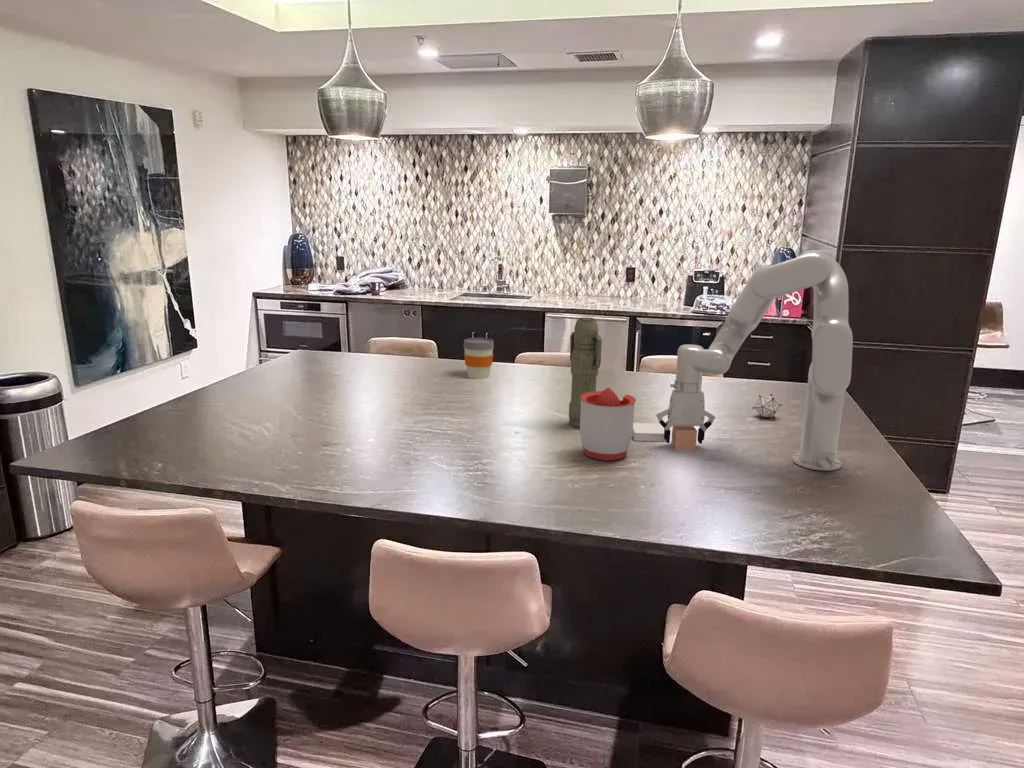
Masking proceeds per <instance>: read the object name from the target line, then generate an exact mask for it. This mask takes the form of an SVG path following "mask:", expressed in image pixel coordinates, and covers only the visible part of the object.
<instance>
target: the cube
mask: <svg viewBox="0 0 1024 768" xmlns="http://www.w3.org/2000/svg"><path fill="white" fill-rule="evenodd" d="M697 438H698V429H696V426H678V425H673V426H672V427H671V439H670V443H671V445H672V446H673V447H672V448H673V449H674V451H675V450H677V451H679V450H680V451H681V450H683V451H696V450H697Z"/></svg>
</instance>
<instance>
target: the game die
mask: <svg viewBox="0 0 1024 768" xmlns="http://www.w3.org/2000/svg"><path fill="white" fill-rule="evenodd" d="M758 397H759V398H758V399H757V402H756V404H754V406H752V407H751V409H754V410H755V411H756V412H757V413H758V414H759V416H761V420H763V419H764V418H771V417H772V418H773V419H776V417H775V415H776V413H777V411H778V409H779V408H780V407H781V406H783V404H779V402H777V401H776V399H775V397H773V394H772V393H771V394H770V395H765V396H761V394H758Z"/></svg>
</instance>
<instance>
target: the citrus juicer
mask: <svg viewBox="0 0 1024 768" xmlns="http://www.w3.org/2000/svg"><path fill="white" fill-rule="evenodd" d="M580 399H581V414H580V429H579V433H580V441H581V444H582V448H583V451H584V453H585V455H586V456H587V457H589V458H592V459H595V460H601V461H609V462H612V461H613V462H614V461H616V460H619V459H622V458H623V459H624V457H625V456H626V454H627V453H628V451H629V447H630V444H631V442H632V441H631V440H632V438H633V436H632V432H633V423H634V422H635V421H634V419H635V417H634V416H635V406H636V405H635V404H636V402H637V399H636V398H635V397H634V396H633V395H631V394H625V395H624V396H623V397H622V400H620V399H619V397H618V395H617V393H615V392H614V390H613V389H612V388H611V387H607V388H604V390H596V391H594V392H588V393H585V394H583V395H581V397H580Z"/></svg>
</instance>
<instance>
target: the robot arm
mask: <svg viewBox="0 0 1024 768" xmlns="http://www.w3.org/2000/svg"><path fill="white" fill-rule="evenodd" d="M808 288H812V290H813V319H812V321H813V322H812V329H811V339H812V350H811V351H812V353H811V355H812V356H811V363H810V366H809V369H808V377H807V378H808V379H807V387H806V397H805V405H804V412H803V413H804V414H803V421H802V429H801V436H800V443H799V444H800V445H799V452H797V453H794V454H793V455H792V461H793V463H794V464H796V465H798V466H800V467H803V468H805V469H810V470H813V471H814V470H815V471H825V472H830V471H836V470H839V469H840V468H842V467H841V466H842V461H841V460H839V459H838V458H837V453H838V452H837V451H838V443H839V437H840V430H841V423H842V415H843V411H844V410H843V409H844V403H845V402H844V401H845V394H846V393H845V392H846V390H847V389H848V387H849V385H850V383H851V380H852V367H853V348H854V347H853V345H854V344H853V340H854V339H853V331H852V328H851V327H850V324H849V307H850V306H849V305H850V304H849V283H848V279H847V275H846V273H845V271H844V270H843V268H842V266H841V265H840V263H838V262H837V260H835V259H834V258H833V257H831V256H830V255H828V254H826V253H824V252H823V251H819V250H813V249H811V250H809V249H808V250H806V251H804V252H802V253H801V254H800V255H799V256H797V257H795V258H790V259H789V260H788V259H787V260H784V261H782V262H778V263H775V264H773V265H771V264H763V265H761V266H759V267H758V268H756V269H755V270H754V271H753V273H752V274H751V276H750V278H749V279H748V281H747V282H746V284H745V286H744V287H743V289H742V290H741V292H740V293H739V296H738V297H737V299H736V301H735V302H734V304H733V305H732V307H731V309H730V310H729V312H728V314H727V316H726V318H725V321H724V323H723V325H722V326H721V328H720V330H719V331H718V333H717V334H716V336H715V338H714V340H713V341H712V342H711V344H710V346H709V347H708V348H707V349H705V348H704V347H703V346H701V345H698V344H682V345H680V346H679V347H678V348H677V355H676V356H677V357H676V371H675V373H676V374H675V380H674V381H673V382H670V383H669V386H670V388H674V389H672V392H671V395H670V399H669V404H668V408H667V409H665V410H662V411H660V412H658V413H656V414H655V416H656V418H657V420H658V424H661V425H662V426H663V427H664V439H665V440H666V444H670V443H671V433H672V430H671V429H672V427H673V425H678V426H694V427H699V428H698V429H697V439H696V442H698V444H700V445H702V444H703V441H705V436H706V435H705V433H706V431H707V429H709V428H710V427H711V426H712V424H713V422H714V421H715V420H716V416H715V415H714V414H712V413H710V412H709V411H707V410H705V408H706V407H705V405H706V404H705V402H706V401H705V400H706V399H705V393H704V391H702V385H703V384H702V383H703V374H709V375H713V376H720V375H723V374H725V373H727V371H728V370H729V369H730V367H731V364H732V361H733V359H734V357H735V355H736V354H737V353H738V351H739V350H740V347H742V344H743V343H744V342H745V340H746V339H747V337H748V336H749V335H750V334H751V333H752V332H753V331H754V330H755V329H756V328H757V327H758V325H759V324H760V323H761V321H762V319H763V318H764V316H765V314H766V313H767V311H768V309H769V308H770V307H771V305H772V303H773V302H774V300H775V299H776V298H779V297H782V296H787V295H789V294H792V293H795V292H798V291H801V290H805V289H808ZM666 416H667V421H666V422H665V421H664V420H663V417H666ZM705 417H707V420H706V421H705Z"/></svg>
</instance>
